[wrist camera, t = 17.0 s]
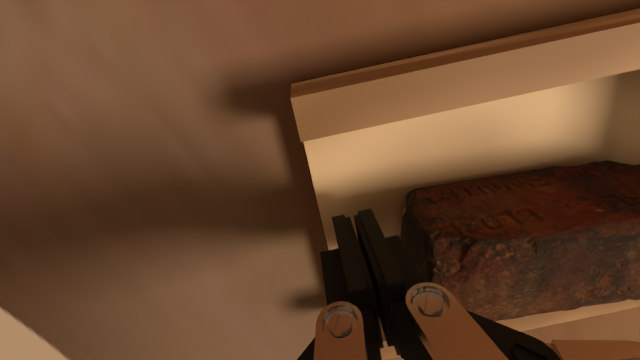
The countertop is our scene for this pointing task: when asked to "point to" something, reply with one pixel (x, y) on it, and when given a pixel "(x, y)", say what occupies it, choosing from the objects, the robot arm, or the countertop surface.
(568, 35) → the rail board
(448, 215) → the brick
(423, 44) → the countertop surface
